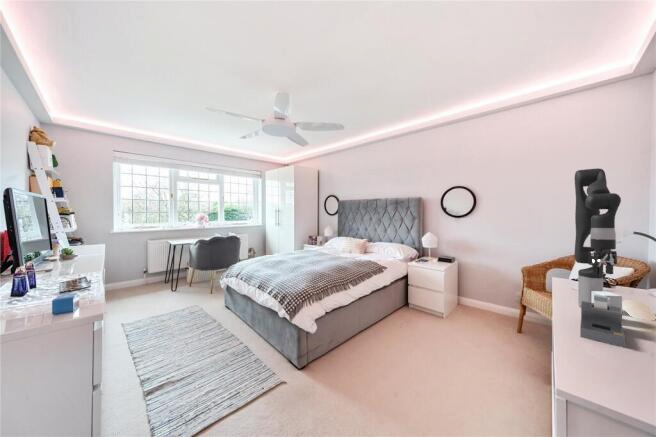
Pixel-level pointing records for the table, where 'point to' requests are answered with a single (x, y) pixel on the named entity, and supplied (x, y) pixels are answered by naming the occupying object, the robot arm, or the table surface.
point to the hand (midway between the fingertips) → (603, 274)
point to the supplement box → (614, 298)
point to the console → (602, 324)
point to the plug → (601, 301)
